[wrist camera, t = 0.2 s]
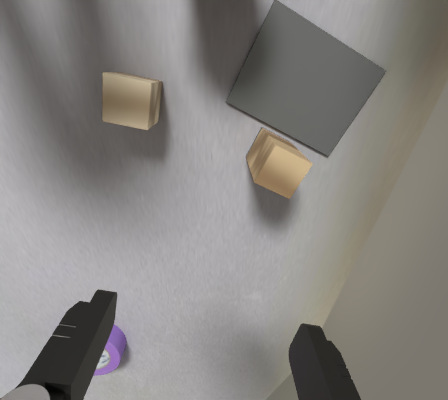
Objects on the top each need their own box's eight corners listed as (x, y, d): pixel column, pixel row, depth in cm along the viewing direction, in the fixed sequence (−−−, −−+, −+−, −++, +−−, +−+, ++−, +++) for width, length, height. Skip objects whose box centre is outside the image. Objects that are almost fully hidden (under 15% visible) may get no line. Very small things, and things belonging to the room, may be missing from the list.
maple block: (121, 72, 33) (102, 72, 27) (162, 81, 33) (151, 82, 28) (120, 113, 35) (102, 121, 30) (158, 121, 35) (147, 130, 30)
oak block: (261, 127, 36) (276, 145, 27) (289, 141, 37) (312, 164, 28) (245, 156, 38) (254, 182, 29) (273, 169, 39) (289, 199, 30)
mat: (274, 0, 30) (275, -1, 30) (384, 70, 33) (386, 71, 33) (226, 101, 34) (226, 101, 34) (327, 155, 38) (328, 156, 37)
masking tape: (54, 335, 53) (42, 353, 50) (93, 308, 50) (83, 325, 47) (100, 364, 57) (92, 383, 54) (138, 340, 54) (133, 359, 51)
